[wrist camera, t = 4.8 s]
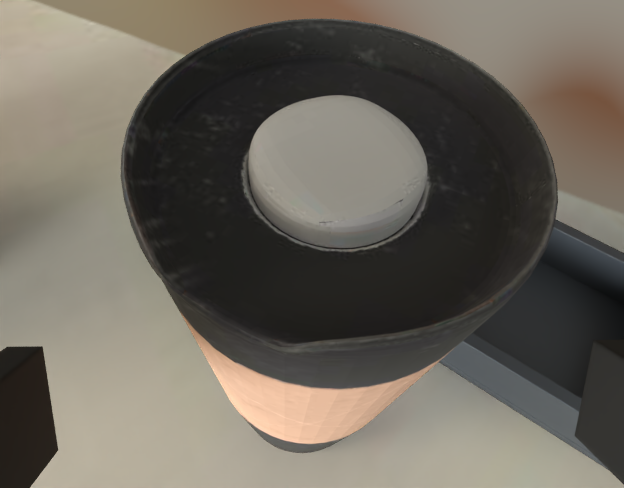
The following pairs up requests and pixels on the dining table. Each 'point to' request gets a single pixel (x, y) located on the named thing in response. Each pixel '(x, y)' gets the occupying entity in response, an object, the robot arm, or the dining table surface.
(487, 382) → the divided organizer tray
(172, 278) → the travel mug
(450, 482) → the dining table surface
